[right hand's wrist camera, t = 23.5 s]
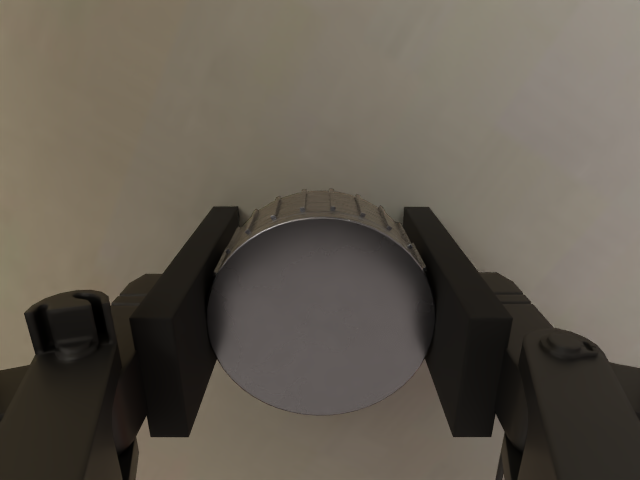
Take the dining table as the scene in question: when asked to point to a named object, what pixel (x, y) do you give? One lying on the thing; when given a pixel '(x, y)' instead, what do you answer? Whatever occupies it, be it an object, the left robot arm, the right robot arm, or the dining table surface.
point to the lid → (320, 304)
